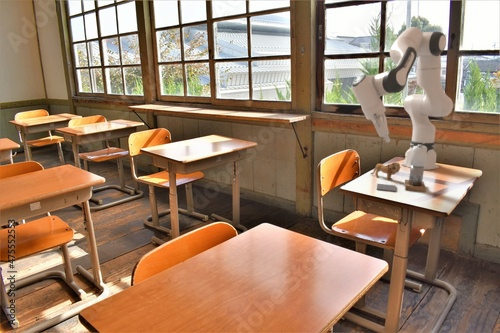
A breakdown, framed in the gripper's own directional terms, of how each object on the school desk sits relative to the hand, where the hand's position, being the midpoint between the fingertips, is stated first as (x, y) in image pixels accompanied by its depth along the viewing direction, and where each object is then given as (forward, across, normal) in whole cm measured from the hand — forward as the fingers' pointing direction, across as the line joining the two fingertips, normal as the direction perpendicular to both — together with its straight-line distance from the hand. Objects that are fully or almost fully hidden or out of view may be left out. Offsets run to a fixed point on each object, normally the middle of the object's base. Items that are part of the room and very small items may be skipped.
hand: (388, 137), depth 171 cm
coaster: (+18, -9, +10) cm, 23 cm away
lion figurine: (+22, +8, +11) cm, 25 cm away
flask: (+23, -5, -2) cm, 24 cm away
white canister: (+16, -4, -6) cm, 17 cm away
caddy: (+25, -4, -1) cm, 26 cm away
